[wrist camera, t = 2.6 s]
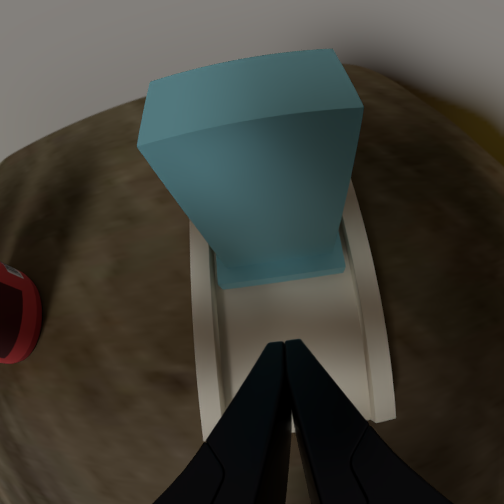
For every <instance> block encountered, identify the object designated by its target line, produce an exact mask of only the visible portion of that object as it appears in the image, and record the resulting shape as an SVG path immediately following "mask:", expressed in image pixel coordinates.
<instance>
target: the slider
mask: <svg viewBox="0 0 504 504" xmlns="http://www.w3.org/2000/svg"><path fill="white" fill-rule="evenodd" d="M363 111H364V106H363V104H362V102H361V100H360V98H359V96H358V94H357V92H356V90H355V88H354V86H353V84H352V82H351V81H350V79H349V77H348V75H347V73H346V71H345V70H344V68H343V66H342V64H341V62H340V61H339V59H338V57H337V56H336V54H335V52H334V50H333V49H317V50H304V51H294V52H286V53H278V54H269V55H262V56H256V57H250V58H244V59H238V60H233V61H228V62H223V63H219V64H214V65H210V66H205V67H201V68H197V69H193V70H189V71H186V72H181V73H178V74H174V75H171V76H168V77H164V78H161V79H158V80H154V81H151V82H150V84H149V89H148V93H147V97H146V102H145V106H144V111H143V116H142V121H141V126H140V132H139V137H138V143H137V147H138V149H139V150H140V152H141V153H142V154H143V156H144V157H145V159H146V160H147V161H148V163H149V164H150V166H151V167H152V168H153V170H154V171H155V172H156V174H157V175H158V177H159V178H160V179H161V181H162V182H163V183H164V185H165V186H166V188H167V189H168V190H169V192H170V193H171V194H172V196H173V197H174V198H175V200H176V201H177V202H178V204H179V205H180V207H181V208H182V209H183V211H184V212H185V213H186V215H187V216H188V217H189V219H190V220H191V221H192V223H193V224H194V225H195V227H196V228H197V229H198V231H199V232H200V233H201V235H202V236H203V237H204V239H205V240H206V241H207V243H208V244H209V245H210V247H211V248H212V249H213V250H214V252H215V253H216V263H217V279H218V285H219V286H220V287H221V288H222V289H223V290H225V289H233V288H241V287H248V286H256V285H263V284H271V283H278V282H285V281H292V280H299V279H306V278H312V277H319V276H326V275H332V274H339V273H343V272H344V270H345V267H346V265H345V260H344V255H343V250H342V245H341V241H340V236H339V232H338V230H339V226H340V222H341V218H342V214H343V209H344V205H345V201H346V196H347V192H348V188H349V183H350V178H351V174H352V169H353V164H354V159H355V154H356V149H357V144H358V139H359V133H360V128H361V122H362V117H363Z"/></svg>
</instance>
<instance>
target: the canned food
mask: <svg viewBox="0 0 504 504" xmlns="http://www.w3.org/2000/svg"><path fill="white" fill-rule="evenodd" d="M41 322H42V306H41V299H40V295H39V292H38V290H37V288H36V286H35V284H34V283H33V282H32V280H31V279H30V278H29V277H28V276H26V275H25V274H24V273H23V272H21V271H19V270H17V269H14V268H12V267H10V266H8V265H6V264H4V263H2V262H0V363H6V364H13V363H16V362H20V361H22V360H24V359H25V358H27V357H28V356H29V355H30V353H31V352H32V351H33V349H34V347H35V345H36V343H37V340H38V337H39V334H40V329H41Z"/></svg>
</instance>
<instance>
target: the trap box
mask: <svg viewBox="0 0 504 504" xmlns="http://www.w3.org/2000/svg"><path fill="white" fill-rule="evenodd" d="M338 232H339V236H340V241H341V245H342V250H343V255H344V260H345V265H346V267H345V270H344V272H343V273H339V274H332V275H326V276H319V277H312V278H306V279H299V280H292V281H285V282H278V283H271V284H263V285H256V286H248V287H241V288H233V289H225V290H223V289H222V288H221V287H220V286H219V285H218V279H217V263H216V253H215V252H214V250H213V249H212V248H211V247H210V245H209V244H208V243H207V241H206V240H205V239H204V237H203V236H202V235H201V233H200V232H199V231H198V229H197V228H196V227H195V225H194V224H193V223H192V221H191V220H190V266H191V294H192V314H193V332H194V347H195V360H196V373H197V384H198V395H199V405H200V415H201V424H202V432H203V441H206V439H207V437H208V436H209V434H210V433H211V431H212V430H213V428H214V427H215V425H216V424H217V422H218V421H219V419H220V418H221V416H222V415H223V413H224V412H225V410H226V409H227V407H228V406H229V404H230V403H231V401H232V399H233V398H234V396H235V395H236V393H237V392H238V390H239V388H240V387H241V385H242V384H243V382H244V381H245V379H246V377H247V376H248V374H249V372H250V371H251V369H252V368H253V366H254V364H255V363H256V361H257V359H258V358H259V356H260V354H261V353H262V351H263V350H264V348H265V346H266V345H267V343H269V342H276V341H283V342H284V343H285V341H286V340H292V339H301V340H302V341H303V342H304V344H305V345H306V346H307V347H308V349H309V350H310V351H311V352H312V354H313V355H314V356H315V357H316V359H317V360H318V361H319V362H320V364H321V365H322V366H323V367H324V369H325V370H326V371H327V372H328V374H329V375H330V376H331V377H332V379H333V380H334V381H335V382H336V384H337V385H338V386H339V387H340V389H341V390H342V391H343V392H344V393H345V395H346V396H347V397H348V398H349V400H350V401H351V402H352V403H353V405H354V406H355V407H356V408H357V409H358V411H359V412H360V413H361V414H362V416H363V417H364V418H365V419H366V420H372V421H374V422H375V423H379V422H383V421H387V420H391V419H395V418H396V410H395V398H394V387H393V378H392V369H391V361H390V353H389V346H388V339H387V333H386V326H385V320H384V314H383V309H382V303H381V298H380V293H379V287H378V283H377V278H376V273H375V268H374V264H373V259H372V255H371V251H370V246H369V242H368V238H367V234H366V230H365V226H364V223H363V219H362V215H361V211H360V208H359V204H358V201H357V197H356V194H355V190H354V187H353V184H352V180H351V178H350V183H349V188H348V192H347V196H346V201H345V205H344V209H343V214H342V218H341V222H340V226H339V230H338ZM292 432H295V429H294V423H293V418H292Z"/></svg>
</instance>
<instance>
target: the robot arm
mask: <svg viewBox="0 0 504 504" xmlns="http://www.w3.org/2000/svg"><path fill="white" fill-rule="evenodd" d="M292 418H293V423H294V429H295V433H296V438H297V442H298V446H299V451H300V455H301V460H302V464H303V469H304V473H305V478H306V482H307V487H308V491H309V496H310V500H311V504H454V503H452V502H451V501H449V500H448V499H447V498H446V497H444V496H443V495H442V494H441V493H439V492H438V491H437V490H436V489H435V488H433V487H432V486H431V485H430V484H429V483H428V482H426V481H425V480H424V479H423V478H422V477H420V476H419V475H418V474H417V473H416V472H415V471H414V470H412V469H411V468H410V467H409V466H408V465H407V464H406V463H405V462H404V461H403V460H402V459H401V458H399V457H398V456H397V455H396V454H395V453H394V452H393V451H392V450H391V448H390V447H389V446H388V445H387V444H386V443H385V442H384V441H383V440H382V438H381V437H380V436H379V435H378V434H377V432H376V431H375V430H374V429H373V428H372V426H369V423H368V422H367V421H366V419H365V418H364V417H363V416H362V414H361V413H360V412H359V411H358V409H357V408H356V407H355V406H354V405H353V403H352V402H351V401H350V400H349V398H348V397H347V396H346V395H345V393H344V392H343V391H342V390H341V389H340V387H339V386H338V385H337V384H336V382H335V381H334V380H333V379H332V377H331V376H330V375H329V374H328V372H327V371H326V370H325V369H324V367H323V366H322V365H321V364H320V362H319V361H318V360H317V359H316V357H315V356H314V355H313V354H312V352H311V351H310V350H309V349H308V347H307V346H306V345H305V344H304V342H303V341H302V340H301V339H292V340H286V341H285V343H284V342H283V341H276V342H269V343H267V345H266V346H265V348H264V350H263V351H262V353H261V354H260V356H259V358H258V359H257V361H256V363H255V364H254V366H253V368H252V369H251V371H250V372H249V374H248V376H247V377H246V379H245V381H244V382H243V384H242V385H241V387H240V388H239V390H238V392H237V393H236V395H235V396H234V398H233V399H232V401H231V403H230V404H229V406H228V407H227V409H226V410H225V412H224V413H223V415H222V416H221V418H220V419H219V421H218V422H217V424H216V425H215V427H214V428H213V430H212V431H211V433H210V434H209V436H208V437H207V439H206V442H207V443H206V442H204V443H203V444H202V446H201V447H200V449H199V450H198V452H197V453H196V455H195V456H194V457H193V459H192V460H191V461H190V463H189V464H188V465H187V467H186V468H185V469H184V471H183V472H182V473H181V474H180V475H179V476H178V477H177V478H176V480H175V481H174V482H173V483H172V484H171V485H170V486H169V487H168V488H167V489H166V490H165V491H164V492H163V493H162V494H161V495H160V497H159V498H158V499H157V500H156V501H155V502H154V503H152V504H285V502H286V492H287V482H288V471H289V459H290V447H291V433H292Z"/></svg>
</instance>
